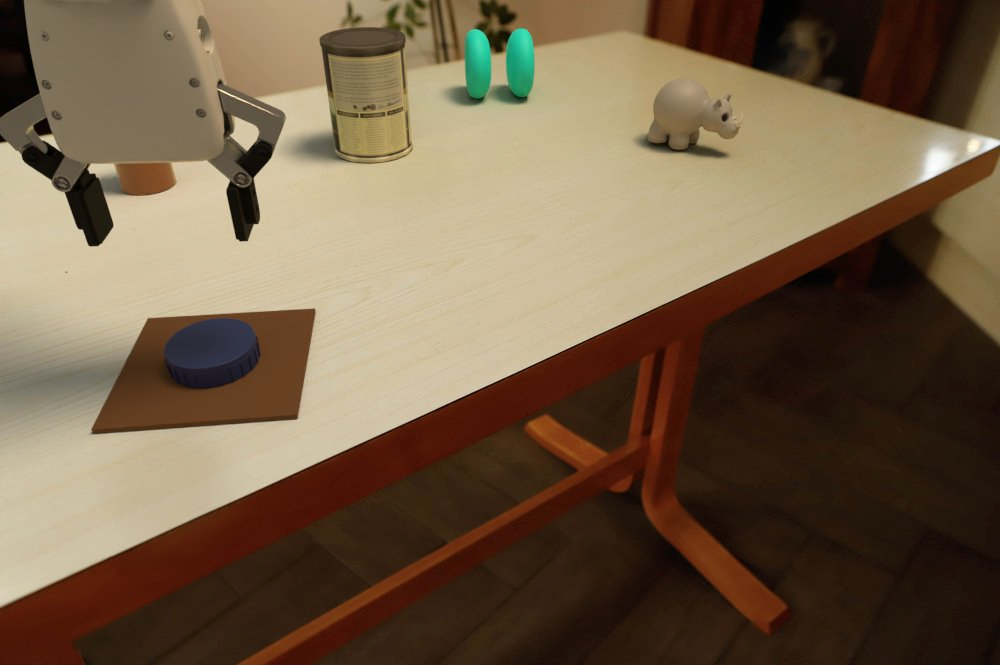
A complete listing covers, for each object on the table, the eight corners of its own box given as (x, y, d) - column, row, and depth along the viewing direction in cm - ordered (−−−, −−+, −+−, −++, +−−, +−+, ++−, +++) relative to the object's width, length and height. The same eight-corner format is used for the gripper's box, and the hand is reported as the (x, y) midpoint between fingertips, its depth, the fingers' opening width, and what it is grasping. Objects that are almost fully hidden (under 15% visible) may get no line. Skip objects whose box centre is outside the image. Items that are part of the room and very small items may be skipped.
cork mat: (92, 433, 50) (90, 429, 50) (149, 321, 62) (147, 317, 61) (297, 418, 52) (296, 414, 51) (315, 312, 63) (315, 308, 63)
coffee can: (319, 147, 95) (303, 35, 87) (383, 130, 101) (374, 23, 93) (362, 170, 89) (349, 51, 81) (428, 150, 95) (422, 37, 87)
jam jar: (115, 196, 82) (85, 104, 76) (129, 176, 87) (101, 87, 81) (170, 193, 83) (145, 101, 77) (180, 173, 88) (157, 85, 82)
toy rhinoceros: (722, 166, 91) (735, 98, 86) (638, 144, 97) (646, 80, 92) (745, 150, 95) (759, 85, 90) (664, 130, 101) (673, 68, 96)
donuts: (464, 88, 118) (463, 22, 112) (525, 86, 119) (526, 21, 113) (469, 107, 110) (468, 38, 104) (534, 105, 110) (536, 36, 105)
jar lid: (278, 359, 57) (273, 339, 56) (198, 401, 52) (192, 381, 51) (230, 327, 60) (225, 307, 59) (152, 364, 56) (146, 344, 55)
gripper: (270, -47, 44) (306, 207, 54) (-31, -49, 43) (64, 214, 52) (250, -26, 38) (295, 256, 48) (-103, -28, 36) (20, 266, 46)
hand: (174, 234), depth 50 cm, fingers open, 9 cm apart
